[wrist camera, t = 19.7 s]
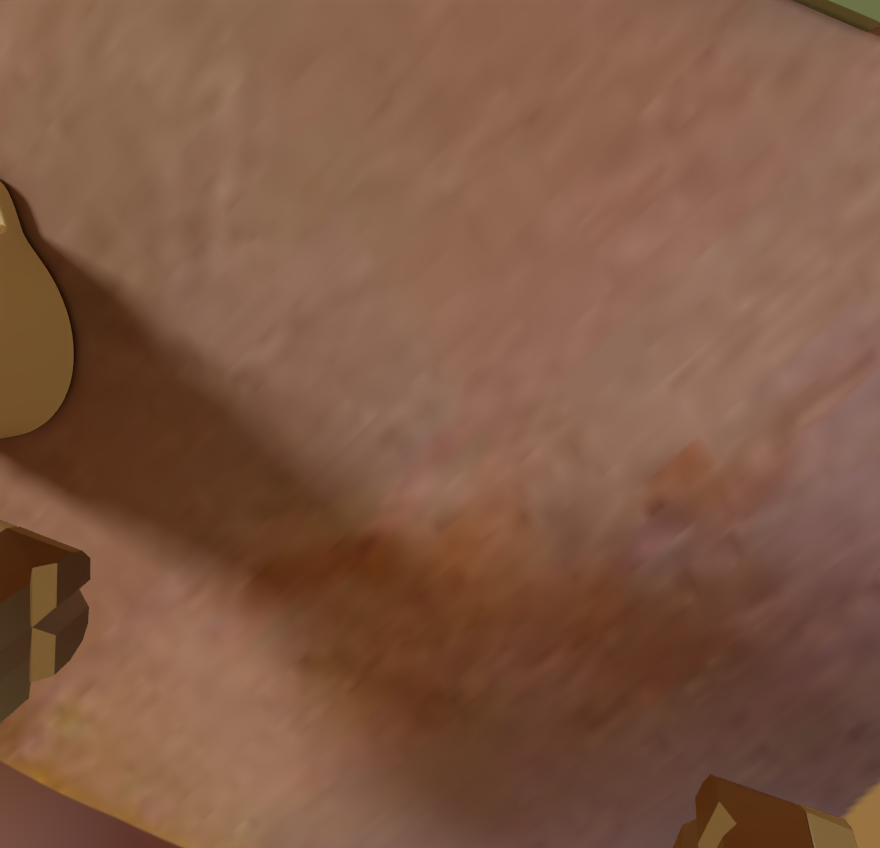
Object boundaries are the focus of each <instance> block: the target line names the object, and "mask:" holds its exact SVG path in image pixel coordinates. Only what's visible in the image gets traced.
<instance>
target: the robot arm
mask: <svg viewBox="0 0 880 848" xmlns="http://www.w3.org/2000/svg"><path fill="white" fill-rule="evenodd" d="M73 363H74V347H73V336H72V330H71V325H70V321H69V317H68V314H67V310H66V307H65V305H64V302H63V299H62V297H61V295H60V292H59V290H58V288H57V286H56V284H55V282H54V280H53V279H52V277H51V275H50V273H49V272H48V270H47V269H46V267H45V266H44V264H43V263H42V261H41V260H40V258H39V257H38V256H37V254H36V253H35V251H34V250H33V249H32V247H31V246H30V244H29V243H28V241H27V239H26V238H25V236H24V234H23V232H22V228H21V225H20V222H19V219H18V216H17V213H16V210H15V207H14V204H13V202H12V199H11V197H10V195H9V193H8V191H7V189H6V188H5V186H4V185H3V184H2V183H1V182H0V439H1V438H7V437H12V436H18V435H22V434H25V433H28V432H31V431H33V430H35V429H37V428H38V427H40V426H41V425H43V424H44V423H46V422H47V421H48V420H49V419H50V418H51V417H52V416H53V415H54V414H55V413H56V411H57V410H58V409H59V407H60V406H61V404H62V402H63V400H64V398H65V396H66V394H67V391H68V388H69V385H70V382H71V377H72V372H73ZM89 580H90V557H88V556H87V555H86V554H85V553H84V552H83V551H82V550H79V549H76V548H74V547H71V546H69V545H66V544H63V543H61V542H58V541H56V540H53V539H50V538H48V537H45V536H43V535H40V534H37V533H35V532H32V531H30V530H27V529H24V528H22V527H17V526H14V525H12V524H9V523H7V522H4V521H2V520H0V723H1V722H3V721H4V720H5V719H6V718H7V717H8V716H9V715H10V714H12V713H13V712H14V711H15V710H16V709H17V708H18V707H19V706H21V705H22V704H23V703H24V702H25V701H26V700H27V699H28V698H29V693H30V686H31V682H34V681H37V680H40V679H43V678H47V677H50V676H53V675H55V674H56V673H57V672H58V671H59V670H60V669H61V668H62V667H63V666H64V665H66V664H67V663H68V662H69V661H70V660H71V658H72V656H73V655H74V653H75V652H76V650H77V648H78V647H79V645H80V644H81V642H82V640H83V637H84V634H85V631H86V628H87V624H88V615H89V606H88V605H87V603H86V601H85V599H84V597H83V595H82V593H81V591H80V590H79V589H80V588H81V587H82V586H84V585H85V584H86V583H87V582H88V581H89ZM695 802H696V819H695V820H693V821H691V822H688V823H686V824H684V825H682V827H681V830H680V832H679V834H678V836H677V839H676V841H675V843H674V846H673V848H857V844H856V841H855V838H854V834H853V831H852V828H851V826H850V825H849V824H848V823H847V822H846V820H845V819H842V818H839V817H836V816H833V815H830V814H827V813H824V812H821V811H818V810H815V809H812V808H809V807H806V806H803V805H800V804H799V805H796V804H794V803H791V802H789V801H786V800H783V799H780V798H777V797H774V796H771V795H768V794H766V793H763V792H760V791H757V790H754V789H751V788H748V787H745V786H743V785H740V784H737V783H734V782H731V781H728V780H725V779H723V778H720V777H717V776H714V775H711V774H710V775H709V776H708V777H707V778H706V779H705V781H704V782H703V783H702V785H701V787H700V789H699V791H698V793H697V795H696V797H695Z"/></svg>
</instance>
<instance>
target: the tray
mask: <svg viewBox="0 0 880 848" xmlns="http://www.w3.org/2000/svg"><path fill="white" fill-rule="evenodd" d="M794 1H796V2H798V3H801V4H803V5H806V6H808V7H810V8H813V9H815V10H817V11H820V12H822V13H824V14H827V15H829V16H831V17H834V18H836V19H838V20H841V21H843V22H845V23H848V24H850V25H853V26H855V27H857V28H860V29H862V30H864V31H867V32H868V31H870V30H872V29H874V28H876V27H878V26H880V0H794Z"/></svg>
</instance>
